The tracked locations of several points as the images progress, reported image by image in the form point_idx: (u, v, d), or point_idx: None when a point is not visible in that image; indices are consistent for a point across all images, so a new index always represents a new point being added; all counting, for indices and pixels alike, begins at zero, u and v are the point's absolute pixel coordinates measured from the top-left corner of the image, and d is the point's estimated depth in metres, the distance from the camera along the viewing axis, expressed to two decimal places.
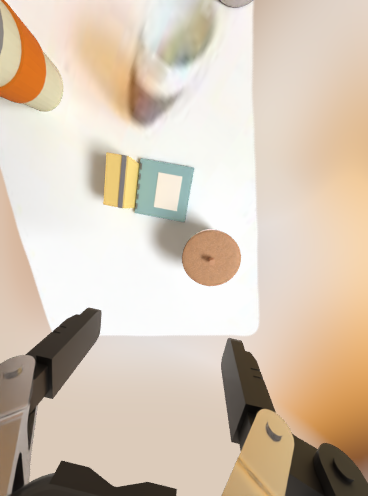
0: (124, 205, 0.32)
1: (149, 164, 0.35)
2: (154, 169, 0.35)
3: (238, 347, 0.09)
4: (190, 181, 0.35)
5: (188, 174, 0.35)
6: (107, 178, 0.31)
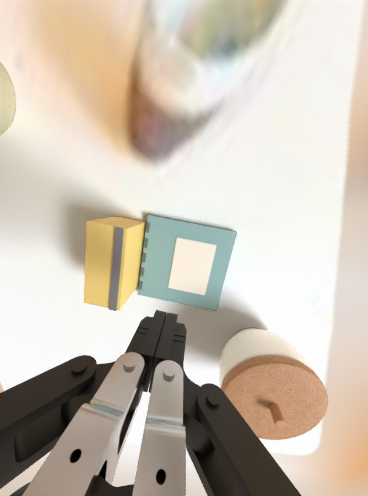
0: (120, 305, 0.18)
1: (162, 225, 0.21)
2: (169, 233, 0.21)
3: (171, 319, 0.11)
4: (229, 252, 0.21)
5: (226, 242, 0.21)
6: (89, 263, 0.18)
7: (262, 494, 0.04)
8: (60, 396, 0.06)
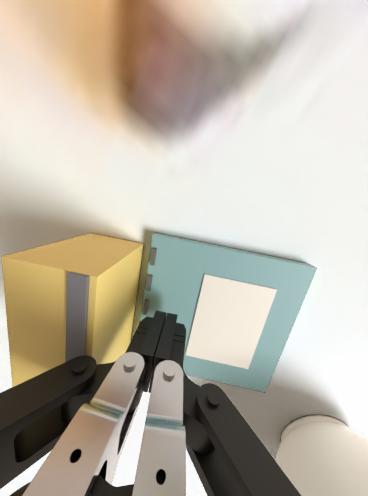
0: None
1: (178, 252, 0.12)
2: (191, 266, 0.12)
3: (171, 319, 0.11)
4: (299, 302, 0.12)
5: (296, 284, 0.12)
6: (18, 344, 0.08)
7: (262, 494, 0.04)
8: (61, 396, 0.06)
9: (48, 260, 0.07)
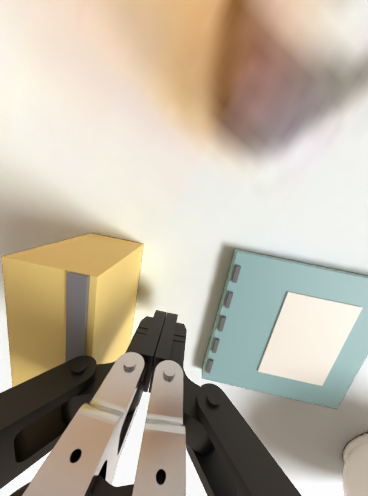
0: None
1: (262, 269, 0.12)
2: (274, 284, 0.12)
3: (171, 319, 0.11)
4: None
5: None
6: (18, 344, 0.08)
7: (262, 494, 0.04)
8: (61, 396, 0.06)
9: (48, 260, 0.07)
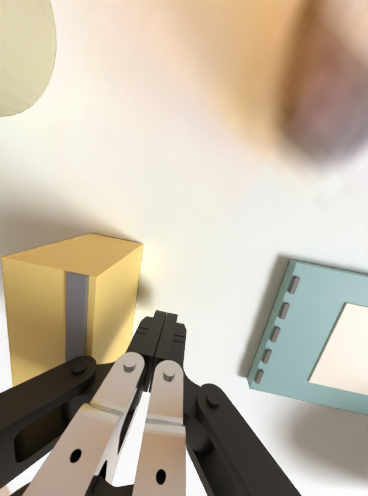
0: None
1: (321, 281, 0.11)
2: (333, 295, 0.12)
3: (171, 319, 0.11)
4: None
5: None
6: (18, 345, 0.08)
7: (262, 494, 0.04)
8: (61, 396, 0.06)
9: (47, 260, 0.07)
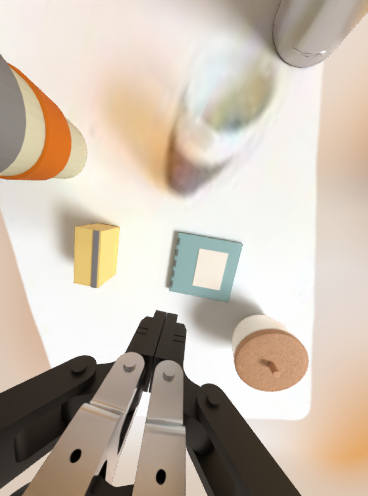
0: (98, 284, 0.27)
1: (189, 239, 0.30)
2: (194, 245, 0.30)
3: (171, 319, 0.11)
4: (237, 258, 0.30)
5: (235, 251, 0.29)
6: (77, 255, 0.26)
7: (262, 494, 0.04)
8: (61, 396, 0.06)
9: (87, 228, 0.25)
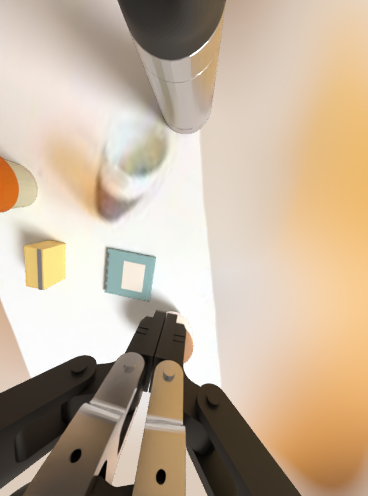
0: (44, 287, 0.37)
1: (115, 254, 0.39)
2: (120, 258, 0.39)
3: (171, 319, 0.11)
4: (152, 269, 0.39)
5: (150, 263, 0.39)
6: (27, 266, 0.36)
7: (262, 494, 0.04)
8: (61, 396, 0.06)
9: (33, 246, 0.35)
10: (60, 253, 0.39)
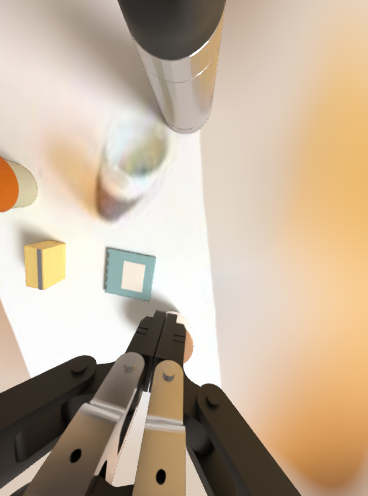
0: (44, 287, 0.37)
1: (115, 254, 0.39)
2: (120, 258, 0.39)
3: (171, 319, 0.11)
4: (152, 269, 0.39)
5: (150, 263, 0.39)
6: (27, 266, 0.36)
7: (262, 494, 0.04)
8: (61, 396, 0.06)
9: (33, 246, 0.35)
10: (60, 253, 0.39)
